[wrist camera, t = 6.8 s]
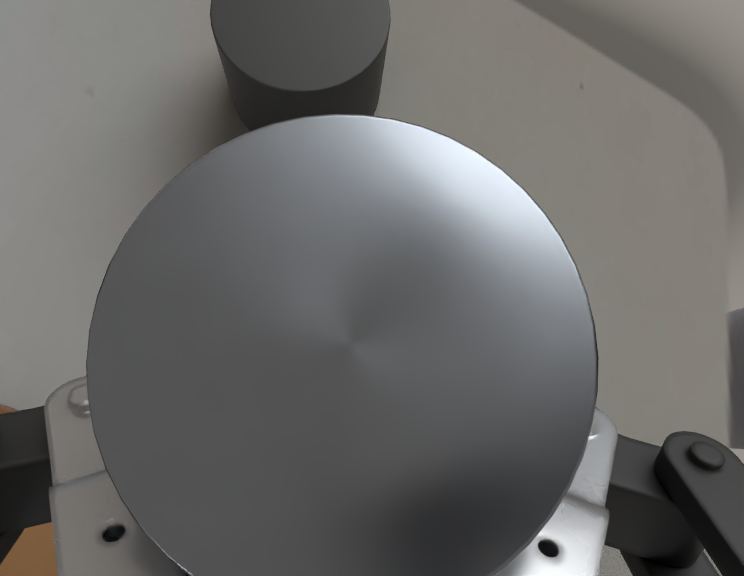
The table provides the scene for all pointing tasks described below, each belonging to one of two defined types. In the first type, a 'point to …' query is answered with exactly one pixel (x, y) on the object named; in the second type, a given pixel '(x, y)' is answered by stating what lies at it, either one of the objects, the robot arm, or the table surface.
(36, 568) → the cork coaster
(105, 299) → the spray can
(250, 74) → the black cap
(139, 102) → the table surface
